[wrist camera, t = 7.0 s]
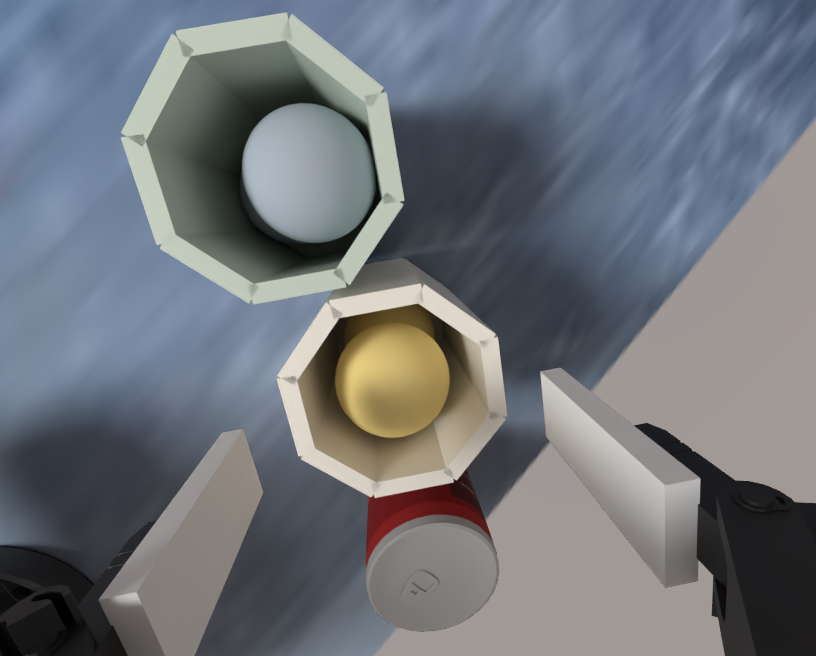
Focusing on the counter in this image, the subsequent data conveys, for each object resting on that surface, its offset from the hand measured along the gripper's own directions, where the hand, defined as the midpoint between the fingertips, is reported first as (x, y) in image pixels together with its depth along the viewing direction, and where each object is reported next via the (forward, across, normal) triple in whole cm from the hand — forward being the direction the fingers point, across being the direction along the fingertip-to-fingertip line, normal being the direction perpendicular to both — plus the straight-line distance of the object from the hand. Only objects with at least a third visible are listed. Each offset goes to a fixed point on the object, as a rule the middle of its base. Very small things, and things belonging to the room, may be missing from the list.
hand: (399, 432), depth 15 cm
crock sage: (+16, -3, +10) cm, 19 cm away
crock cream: (+16, 0, 0) cm, 16 cm away
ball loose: (+6, 0, 0) cm, 6 cm away
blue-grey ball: (+7, -2, +10) cm, 12 cm away
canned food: (+16, 0, -12) cm, 20 cm away
